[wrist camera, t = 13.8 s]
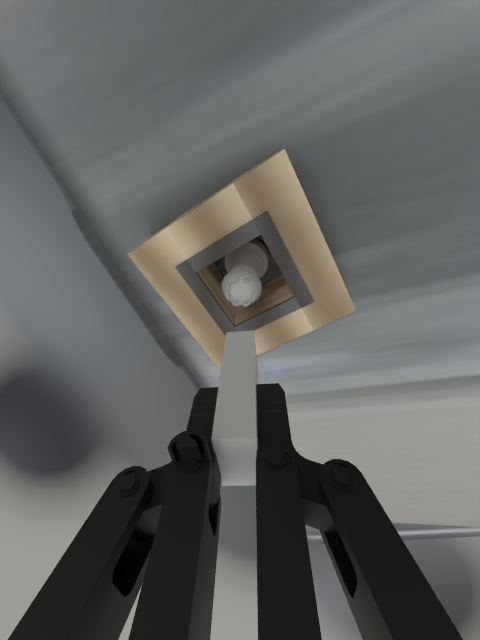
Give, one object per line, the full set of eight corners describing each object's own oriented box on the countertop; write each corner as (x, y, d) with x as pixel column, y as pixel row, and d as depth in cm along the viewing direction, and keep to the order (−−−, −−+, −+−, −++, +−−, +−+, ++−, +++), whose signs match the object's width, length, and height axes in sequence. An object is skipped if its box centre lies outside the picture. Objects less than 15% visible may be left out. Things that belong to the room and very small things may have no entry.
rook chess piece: (230, 281, 30) (219, 321, 23) (220, 240, 28) (204, 271, 21) (272, 274, 29) (273, 313, 22) (265, 231, 27) (264, 260, 20)
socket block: (277, 150, 24) (285, 148, 18) (338, 283, 29) (357, 312, 24) (150, 235, 28) (125, 255, 22) (226, 338, 33) (221, 373, 28)
